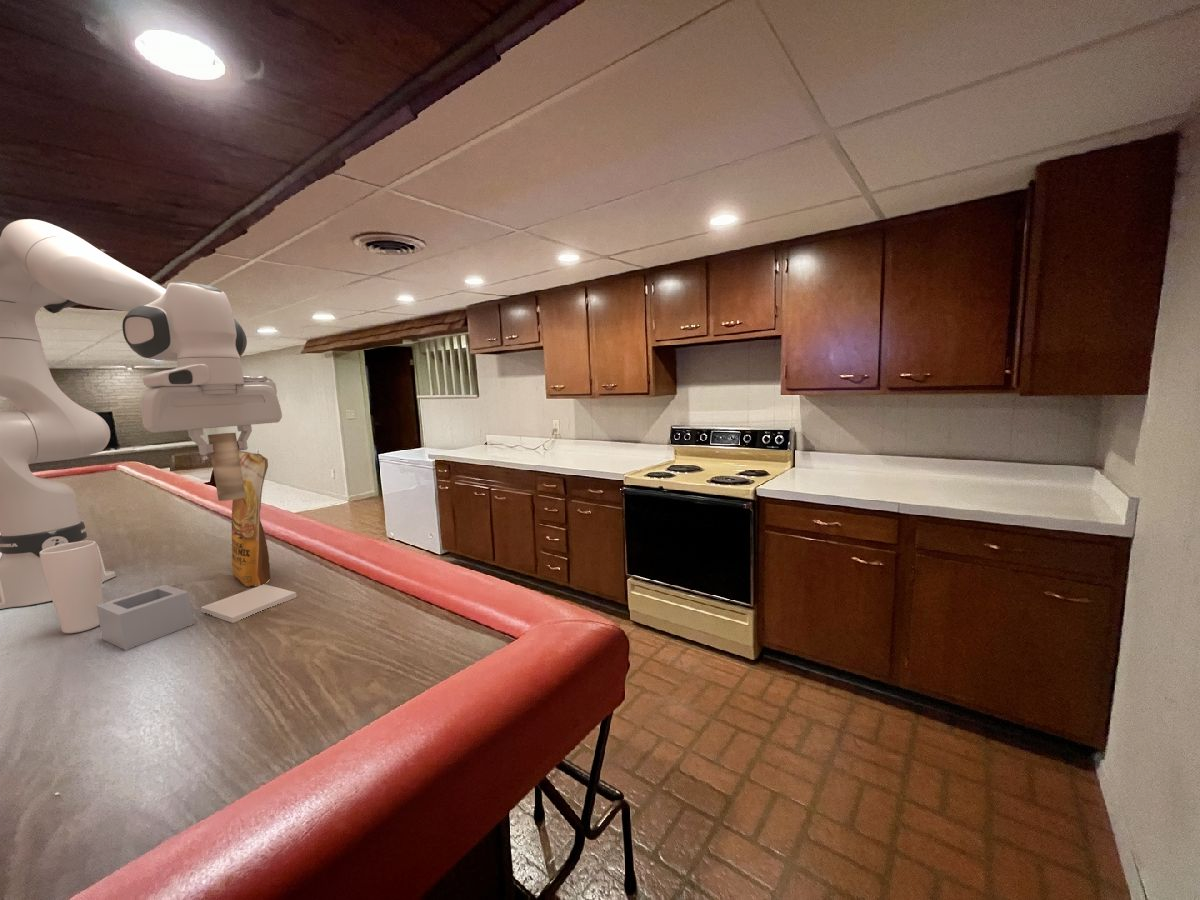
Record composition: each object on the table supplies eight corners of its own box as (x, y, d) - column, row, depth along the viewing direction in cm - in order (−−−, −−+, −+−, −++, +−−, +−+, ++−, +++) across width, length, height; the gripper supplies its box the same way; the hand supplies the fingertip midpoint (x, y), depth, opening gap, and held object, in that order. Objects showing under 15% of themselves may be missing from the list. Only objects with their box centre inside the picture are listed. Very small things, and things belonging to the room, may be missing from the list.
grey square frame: (102, 639, 79) (95, 605, 78) (169, 615, 87) (164, 584, 86) (125, 650, 75) (118, 614, 74) (194, 624, 83) (188, 591, 82)
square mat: (201, 612, 88) (200, 607, 88) (264, 588, 98) (264, 584, 97) (233, 623, 83) (232, 617, 83) (296, 597, 93) (296, 592, 92)
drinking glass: (74, 638, 80) (57, 553, 78) (45, 636, 81) (27, 552, 79) (121, 619, 87) (106, 540, 85) (93, 617, 88) (78, 539, 86)
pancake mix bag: (262, 563, 113) (245, 448, 110) (286, 581, 101) (268, 452, 97) (227, 572, 108) (209, 452, 105) (248, 593, 96) (228, 457, 92)
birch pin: (213, 500, 86) (203, 435, 85) (238, 495, 90) (228, 432, 88) (225, 501, 84) (214, 435, 83) (250, 496, 88) (240, 432, 86)
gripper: (265, 376, 95) (275, 444, 97) (129, 377, 77) (145, 460, 79) (283, 374, 92) (293, 444, 94) (147, 374, 74) (162, 461, 76)
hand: (224, 452), depth 86 cm, fingers closed on birch pin, 4 cm apart
